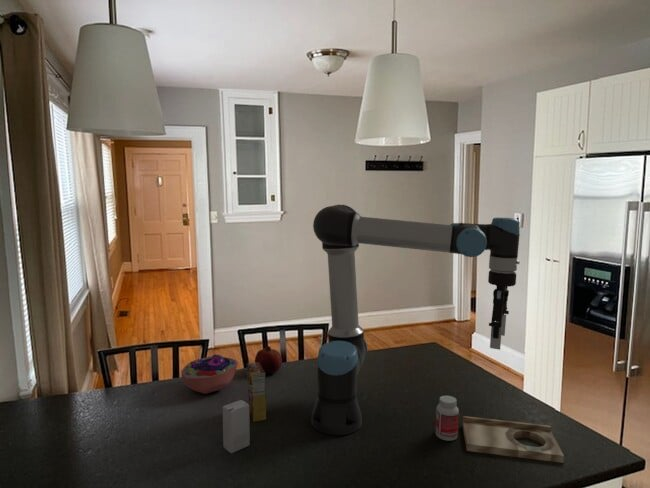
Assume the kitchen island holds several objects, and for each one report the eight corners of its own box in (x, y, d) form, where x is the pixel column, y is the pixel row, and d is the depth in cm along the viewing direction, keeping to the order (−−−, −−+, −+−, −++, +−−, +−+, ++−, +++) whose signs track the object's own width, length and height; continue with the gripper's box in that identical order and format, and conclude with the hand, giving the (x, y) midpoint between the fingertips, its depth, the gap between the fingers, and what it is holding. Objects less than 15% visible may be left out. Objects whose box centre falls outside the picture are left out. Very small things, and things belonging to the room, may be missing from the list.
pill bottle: (462, 437, 128) (464, 400, 127) (447, 444, 125) (449, 406, 124) (445, 427, 133) (447, 392, 132) (430, 433, 130) (432, 397, 129)
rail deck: (466, 450, 122) (467, 439, 121) (462, 426, 135) (463, 415, 134) (563, 462, 117) (564, 451, 117) (549, 436, 130) (550, 425, 129)
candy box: (247, 408, 143) (246, 362, 142) (260, 406, 145) (260, 361, 143) (252, 422, 135) (251, 373, 133) (266, 420, 137) (266, 371, 135)
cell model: (170, 391, 155) (169, 359, 154) (219, 373, 170) (218, 344, 169) (199, 407, 144) (198, 373, 143) (248, 386, 159) (248, 356, 158)
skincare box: (241, 439, 126) (241, 398, 125) (250, 446, 123) (250, 404, 121) (222, 447, 122) (221, 405, 120) (231, 455, 119) (230, 411, 117)
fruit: (249, 371, 172) (249, 346, 171) (270, 365, 179) (270, 340, 178) (265, 380, 164) (265, 354, 163) (287, 373, 171) (287, 347, 170)
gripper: (513, 279, 119) (507, 357, 121) (519, 265, 141) (514, 331, 143) (483, 276, 122) (478, 352, 125) (493, 263, 144) (489, 327, 147)
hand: (497, 341), depth 134 cm, fingers open, 13 cm apart
